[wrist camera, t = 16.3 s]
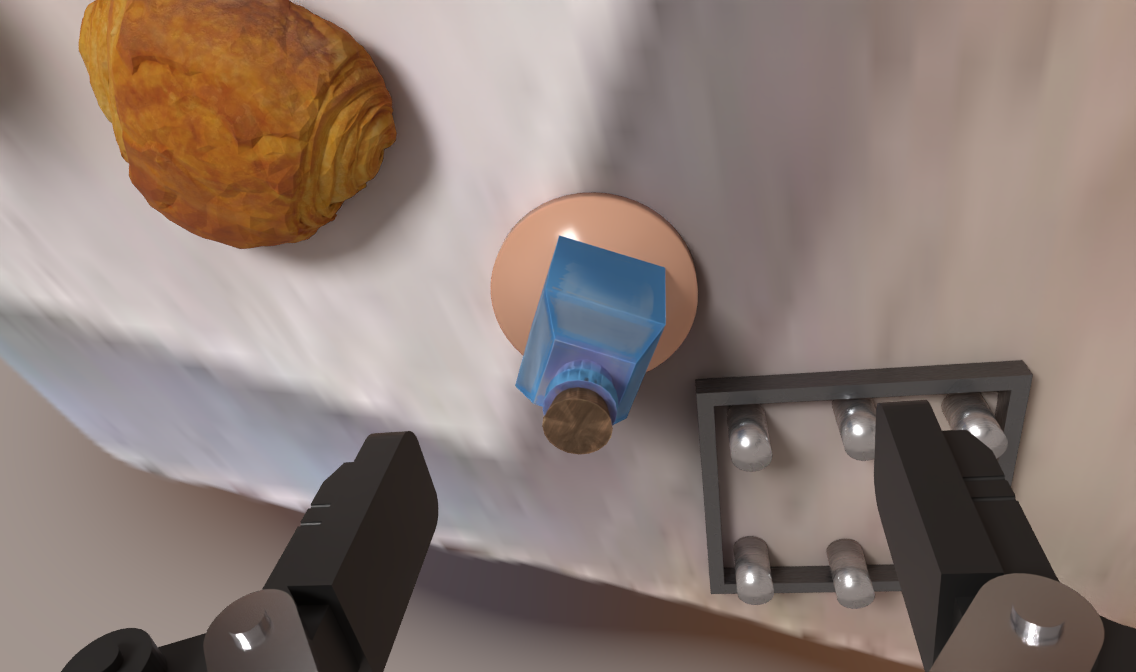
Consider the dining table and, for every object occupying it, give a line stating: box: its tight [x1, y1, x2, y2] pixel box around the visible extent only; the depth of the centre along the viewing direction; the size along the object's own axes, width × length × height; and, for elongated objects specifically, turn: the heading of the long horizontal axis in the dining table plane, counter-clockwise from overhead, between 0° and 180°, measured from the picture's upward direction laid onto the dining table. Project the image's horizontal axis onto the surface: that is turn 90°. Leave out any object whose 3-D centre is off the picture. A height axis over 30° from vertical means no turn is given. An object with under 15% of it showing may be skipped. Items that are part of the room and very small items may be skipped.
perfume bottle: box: [515, 235, 666, 454], centre depth 40 cm, size 6×6×12 cm
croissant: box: [79, 0, 397, 249], centre depth 40 cm, size 14×16×8 cm
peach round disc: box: [491, 192, 698, 372], centre depth 46 cm, size 12×12×1 cm
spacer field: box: [695, 360, 1033, 609], centre depth 50 cm, size 19×18×4 cm
